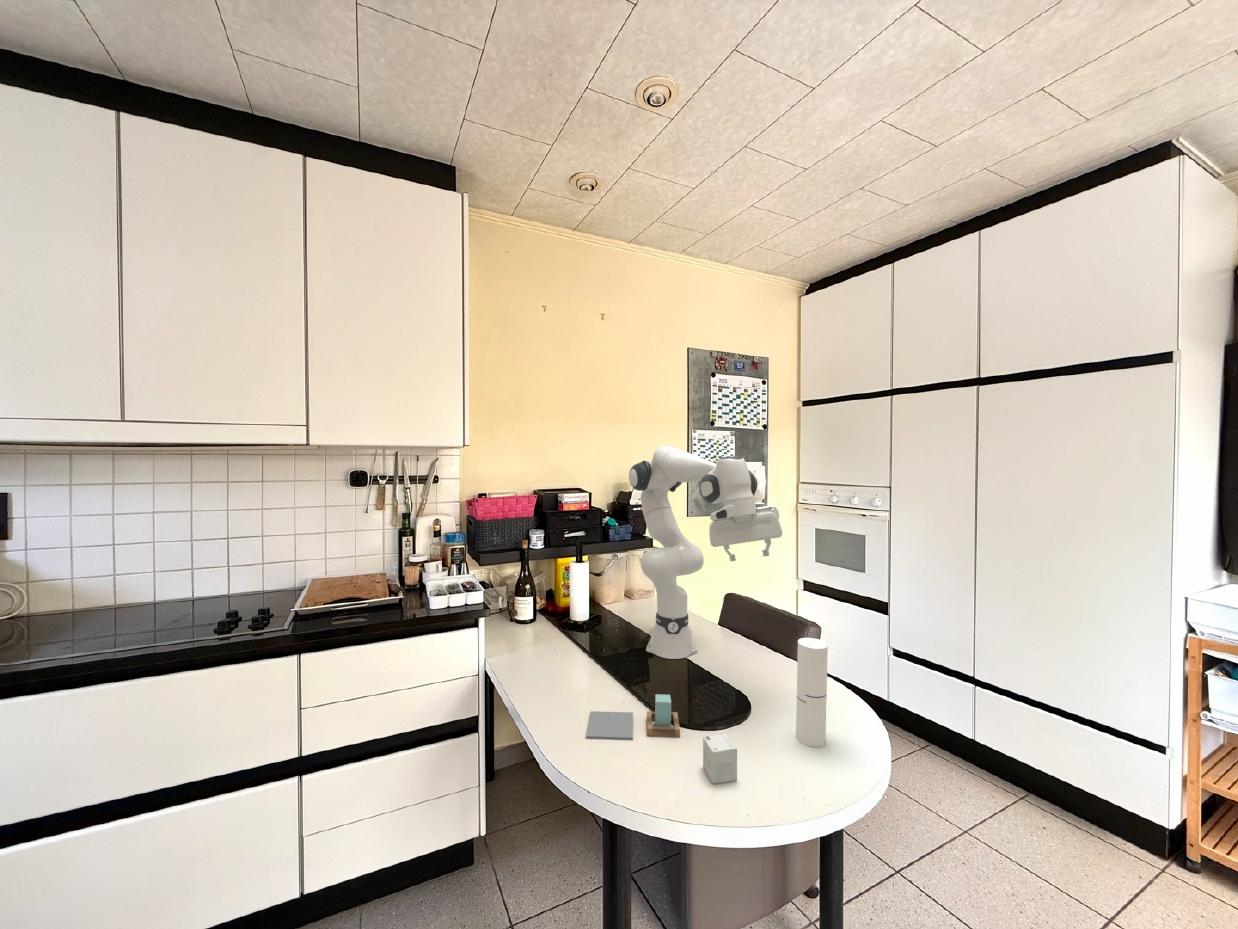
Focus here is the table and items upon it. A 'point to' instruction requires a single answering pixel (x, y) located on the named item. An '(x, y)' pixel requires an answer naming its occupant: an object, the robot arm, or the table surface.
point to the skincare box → (719, 758)
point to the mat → (610, 725)
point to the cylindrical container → (811, 692)
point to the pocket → (663, 731)
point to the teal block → (662, 710)
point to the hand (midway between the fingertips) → (749, 558)
